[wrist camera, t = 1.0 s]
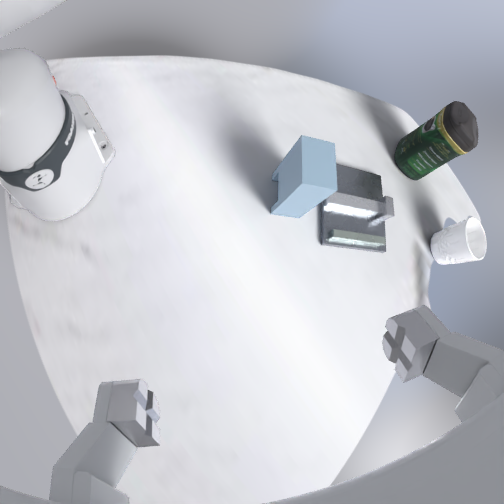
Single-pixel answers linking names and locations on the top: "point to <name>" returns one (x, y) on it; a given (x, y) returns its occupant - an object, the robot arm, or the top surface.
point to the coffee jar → (437, 141)
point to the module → (305, 177)
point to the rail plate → (356, 212)
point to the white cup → (459, 243)
